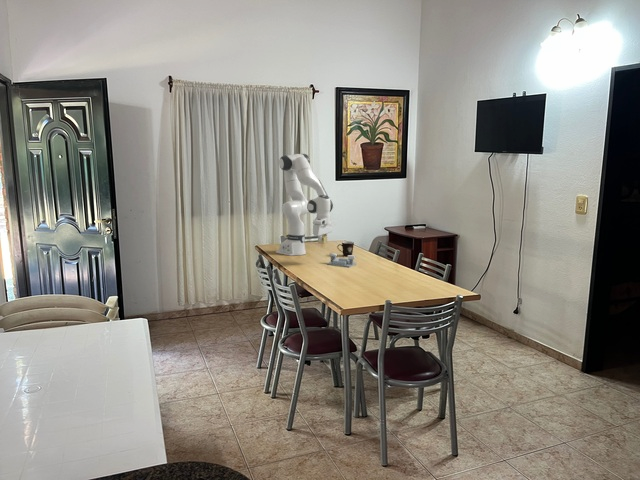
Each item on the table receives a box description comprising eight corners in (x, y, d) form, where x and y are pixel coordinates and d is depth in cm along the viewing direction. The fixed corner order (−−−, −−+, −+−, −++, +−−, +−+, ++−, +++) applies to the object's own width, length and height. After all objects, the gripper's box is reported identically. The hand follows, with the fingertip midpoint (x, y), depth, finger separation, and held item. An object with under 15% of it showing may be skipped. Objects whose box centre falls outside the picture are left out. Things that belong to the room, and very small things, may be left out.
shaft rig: (326, 264, 330) (326, 254, 329) (333, 261, 340) (334, 251, 338) (350, 267, 321) (351, 257, 320) (357, 264, 331) (358, 254, 330)
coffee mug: (353, 254, 361) (354, 241, 360) (353, 257, 353) (353, 243, 351) (337, 254, 363) (338, 240, 361) (337, 256, 354) (337, 243, 352)
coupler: (317, 243, 329) (318, 235, 328) (321, 242, 333) (321, 234, 332) (323, 244, 327) (324, 236, 326) (327, 243, 331) (327, 235, 330)
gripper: (326, 217, 337) (325, 237, 340) (311, 221, 320) (310, 242, 322) (334, 218, 334) (333, 238, 337) (320, 222, 317) (319, 243, 319)
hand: (322, 240), depth 330 cm, fingers closed on coupler, 4 cm apart
